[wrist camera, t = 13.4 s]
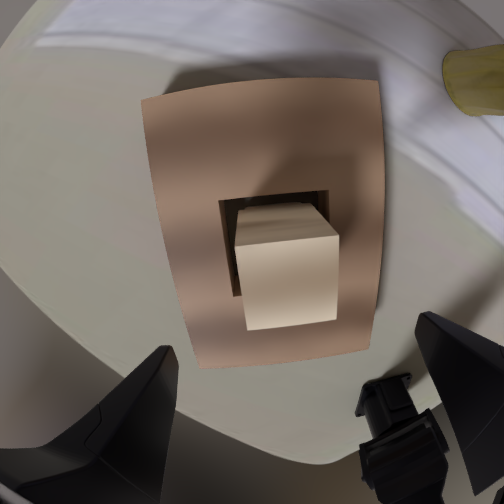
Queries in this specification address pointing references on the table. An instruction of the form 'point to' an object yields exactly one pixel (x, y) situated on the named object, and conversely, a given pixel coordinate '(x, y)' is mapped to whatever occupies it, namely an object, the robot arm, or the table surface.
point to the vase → (476, 80)
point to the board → (267, 183)
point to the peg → (286, 265)
